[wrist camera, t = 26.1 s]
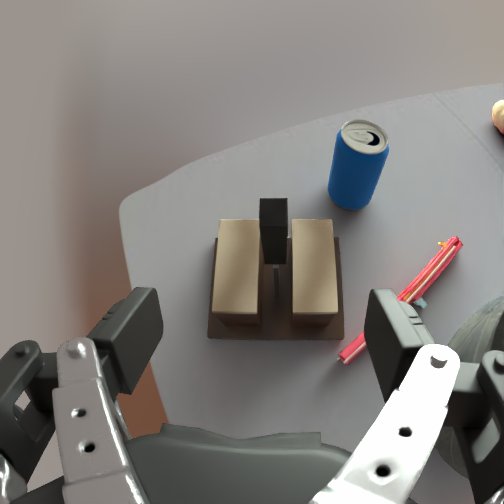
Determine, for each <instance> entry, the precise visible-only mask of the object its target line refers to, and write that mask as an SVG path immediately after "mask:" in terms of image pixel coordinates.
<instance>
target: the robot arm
mask: <svg viewBox="0 0 504 504" xmlns="http://www.w3.org/2000/svg"><path fill="white" fill-rule="evenodd" d="M162 335H163V320H162V315H161V310H160V305H159V300H158V295H157V291H156V289H155V288H145V287H136V288H134V289H133V291H132V292H131V293H130V294H129V295H128V297H127V298H126V299H123V300H121V301H119V302H118V303H116V304H114V305H113V306H112V307H111V309H110V310H109V311H108V312H107V314H105V315H104V317H103V318H102V320H100V321H99V322H98V324H97V325H96V326H95V327H94V328H93V330H92V331H91V332H90V333H89V334H88V335H87V337H86V338H85V337H78V338H74V339H70V340H68V341H66V342H65V343H63V344H62V345H61V346H60V347H59V348H58V350H57V352H56V353H42V352H41V350H40V347H39V345H38V343H37V342H35V341H32V340H27V341H22V342H19V343H17V344H15V345H14V346H13V347H12V348H10V349H9V351H8V352H7V353H6V354H5V355H4V356H3V357H2V358H1V359H0V504H418V503H416V502H415V501H414V500H412V499H411V498H410V497H409V495H410V493H411V491H412V490H413V488H414V486H415V484H416V482H417V480H418V478H419V476H420V474H421V472H422V470H423V468H424V466H425V464H426V462H427V460H428V457H429V455H430V453H431V451H432V449H433V446H434V444H435V442H436V439H437V437H438V434H439V432H440V429H441V427H442V426H445V427H453V430H454V432H455V435H456V438H457V441H458V444H459V447H460V451H461V454H462V457H463V460H464V463H465V467H466V470H467V474H468V477H469V481H470V484H471V488H472V492H473V496H474V500H475V504H504V352H502V351H497V350H493V351H489V352H487V353H485V355H484V356H483V358H482V361H481V363H480V364H477V363H466V362H460V360H459V357H458V355H457V354H456V353H455V352H454V351H453V350H451V349H450V348H448V347H445V346H442V345H437V344H436V343H435V341H434V339H433V338H432V336H431V334H430V333H429V331H428V330H427V328H426V327H425V325H423V322H422V320H421V319H420V318H419V316H418V314H417V313H416V311H415V310H414V308H413V307H411V306H410V305H409V304H407V303H406V302H404V301H399V300H398V299H397V297H396V296H395V294H394V292H393V291H392V289H372V290H371V291H370V294H369V300H368V306H367V313H366V319H365V325H364V338H365V343H366V345H367V348H368V351H369V354H370V357H371V360H372V363H373V366H374V369H375V372H376V375H377V379H378V382H379V385H380V388H381V391H382V394H383V398H384V401H385V404H386V405H385V407H384V408H383V410H382V412H381V413H380V415H379V416H378V418H377V419H376V421H375V422H374V424H373V425H372V427H371V428H370V430H369V431H368V433H367V434H366V436H365V437H364V439H363V440H362V442H361V443H360V444H359V446H358V447H357V448H356V450H355V451H354V453H351V452H348V451H346V450H344V449H342V448H339V447H336V446H332V445H328V444H323V443H321V435H320V432H315V433H278V434H273V435H267V436H261V437H255V438H248V439H240V440H239V439H233V438H229V437H226V436H222V435H219V434H216V433H213V432H210V431H206V430H203V429H200V428H194V427H186V426H179V425H172V424H165V423H163V424H162V427H161V430H160V432H159V433H158V434H149V435H144V436H140V437H137V438H134V439H132V438H131V436H130V433H129V430H128V428H127V425H126V423H125V420H124V417H123V414H122V412H121V409H120V406H119V403H118V401H117V399H116V396H117V395H118V393H124V394H129V395H131V394H132V392H133V390H134V388H135V386H136V384H137V382H138V381H139V379H140V377H141V375H142V373H143V371H144V369H145V367H146V366H147V364H148V362H149V360H150V358H151V356H152V354H153V353H154V351H155V349H156V347H157V345H158V343H159V342H160V340H161V338H162ZM24 390H25V392H26V394H27V396H28V397H29V399H30V400H31V401H30V403H29V404H28V405H27V407H26V408H25V410H24V411H23V413H22V414H21V416H20V417H19V418H18V417H17V416H16V415H15V414H14V413H13V407H14V404H15V402H16V400H17V399H18V397H19V396H20V395H21V394H22V392H23V391H24ZM494 413H495V414H496V417H497V419H498V421H499V423H500V426H501V435H500V434H499V432H498V429H497V427H496V425H495V423H494V420H493V418H492V417H493V415H494ZM55 430H56V433H57V440H58V446H59V452H60V457H61V463H62V468H63V473H64V475H63V476H61V477H59V478H58V479H55V480H53V481H52V482H50V483H47V484H45V485H43V486H41V487H39V488H37V489H35V490H33V491H30V492H28V493H27V483H28V482H29V479H30V477H31V475H32V473H33V471H34V469H35V467H36V466H37V464H38V462H39V460H40V457H41V456H42V454H43V452H44V450H45V448H46V446H47V445H48V442H49V441H50V439H51V437H52V435H53V433H54V432H55Z"/></svg>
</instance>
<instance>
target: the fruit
mask: <svg viewBox="0 0 504 504" xmlns="http://www.w3.org/2000/svg"><path fill="white" fill-rule="evenodd" d="M492 121H493V124H494V125H495V126H496V127H497V128H498V129H499V131H500V132H501V133H502V134H504V100H501V101H498V102H497V103H496V104H495V105H494V107H493V109H492Z"/></svg>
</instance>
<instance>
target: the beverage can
mask: <svg viewBox="0 0 504 504" xmlns="http://www.w3.org/2000/svg"><path fill="white" fill-rule="evenodd" d="M388 153H389V145H388V138H387V135H386V133H385V132H384V131H383V129H381V128H380V127H379V126H378V125H376V124H374V123H372V122H369V121H366V120H352V121H349V122H347V123H345V124H344V125H343V127H342V129H341V130H340V131H339V132H338V134H337V137H336V143H335V149H334V155H333V161H332V166H331V172H330V178H329V183H328V193H329V196H330V198H331V199H332V200H333V202H334V203H336V204H337V205H338V206H340V207H342V208H345V209H348V210H358V209H361V208H363V207H365V206H366V205H367V204H368V203H369V202H370V200H371V197H372V195H373V192H374V190H375V187H376V185H377V182H378V180H379V177H380V174H381V172H382V169H383V166H384V164H385V161H386V158H387V156H388Z"/></svg>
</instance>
